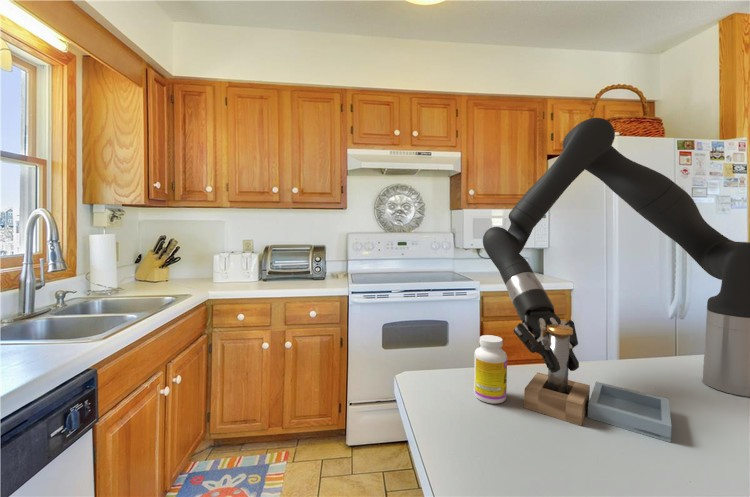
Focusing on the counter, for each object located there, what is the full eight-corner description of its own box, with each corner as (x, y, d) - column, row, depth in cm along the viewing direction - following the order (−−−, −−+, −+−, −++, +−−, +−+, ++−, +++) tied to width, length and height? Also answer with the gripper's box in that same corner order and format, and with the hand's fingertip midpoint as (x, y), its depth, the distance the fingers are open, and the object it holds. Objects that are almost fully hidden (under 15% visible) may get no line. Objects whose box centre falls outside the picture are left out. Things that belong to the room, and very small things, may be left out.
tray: (595, 393, 74) (596, 381, 74) (667, 412, 67) (668, 398, 66) (587, 417, 65) (588, 403, 65) (670, 442, 57) (671, 426, 57)
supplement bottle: (508, 406, 69) (510, 344, 68) (475, 403, 70) (476, 342, 69) (503, 391, 75) (504, 334, 75) (472, 388, 77) (473, 332, 76)
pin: (547, 396, 72) (549, 322, 71) (571, 403, 70) (574, 326, 69) (542, 404, 69) (544, 327, 68) (567, 412, 66) (570, 332, 65)
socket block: (536, 389, 76) (537, 372, 76) (589, 404, 70) (589, 385, 70) (524, 407, 68) (524, 388, 68) (581, 426, 62) (582, 404, 62)
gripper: (507, 288, 74) (543, 365, 63) (564, 286, 76) (608, 359, 65) (493, 307, 79) (524, 380, 68) (547, 304, 82) (585, 374, 71)
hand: (565, 369), depth 67 cm, fingers closed on pin, 3 cm apart
